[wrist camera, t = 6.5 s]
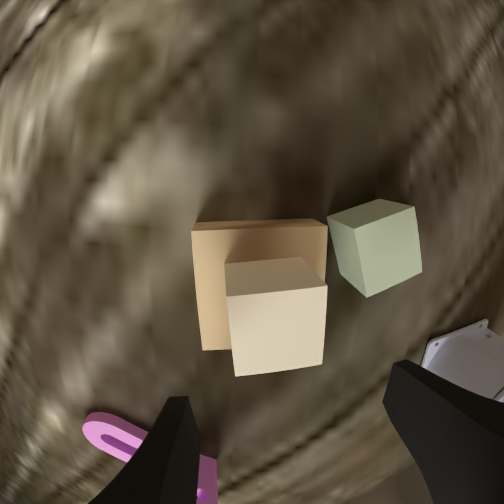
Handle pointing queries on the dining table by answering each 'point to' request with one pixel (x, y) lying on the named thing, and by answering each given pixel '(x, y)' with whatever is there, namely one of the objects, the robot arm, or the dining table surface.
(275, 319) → the cream cube
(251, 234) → the oak slab
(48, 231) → the dining table surface
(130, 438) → the bracket
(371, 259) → the sage cube
